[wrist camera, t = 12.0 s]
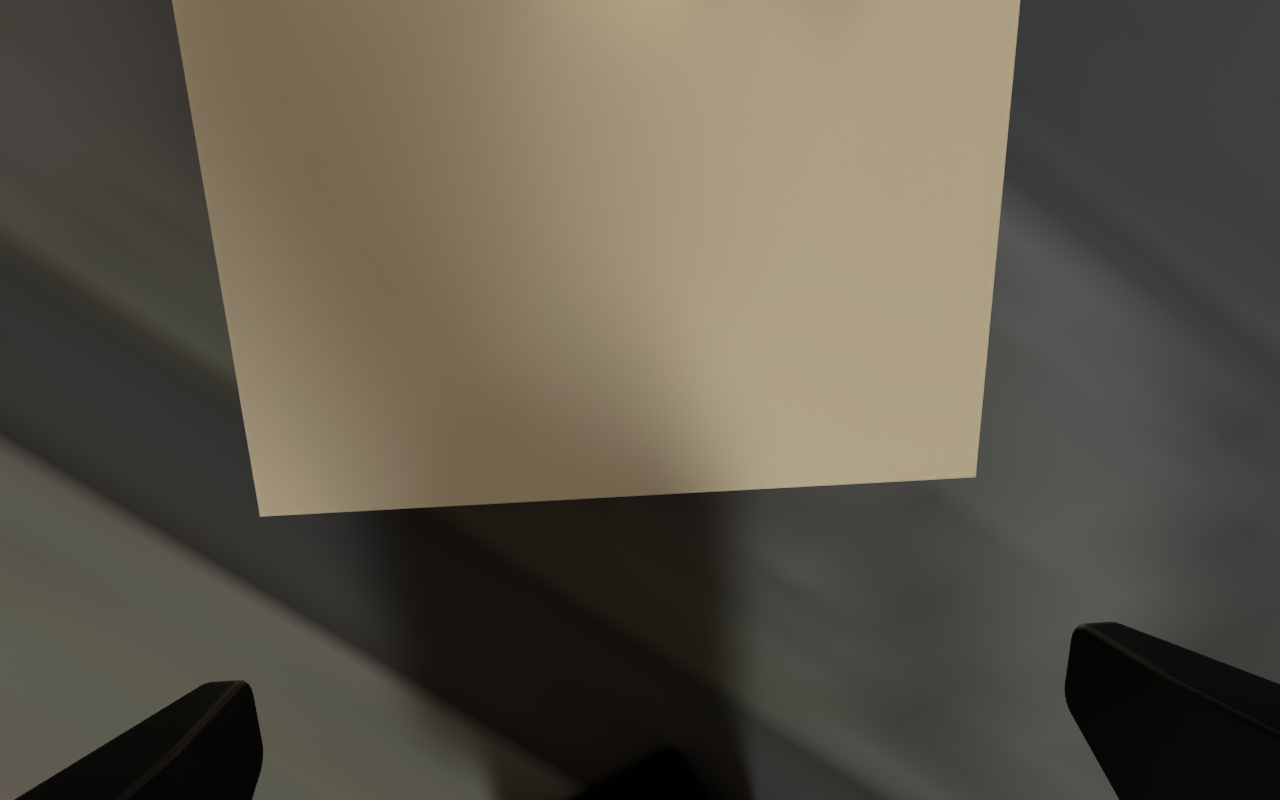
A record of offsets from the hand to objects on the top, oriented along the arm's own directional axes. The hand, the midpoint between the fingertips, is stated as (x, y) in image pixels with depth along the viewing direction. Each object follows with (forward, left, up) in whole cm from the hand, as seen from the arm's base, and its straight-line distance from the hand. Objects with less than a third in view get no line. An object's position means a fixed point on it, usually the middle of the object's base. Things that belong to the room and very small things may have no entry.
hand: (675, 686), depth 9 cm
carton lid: (+2, +5, -8) cm, 10 cm away
